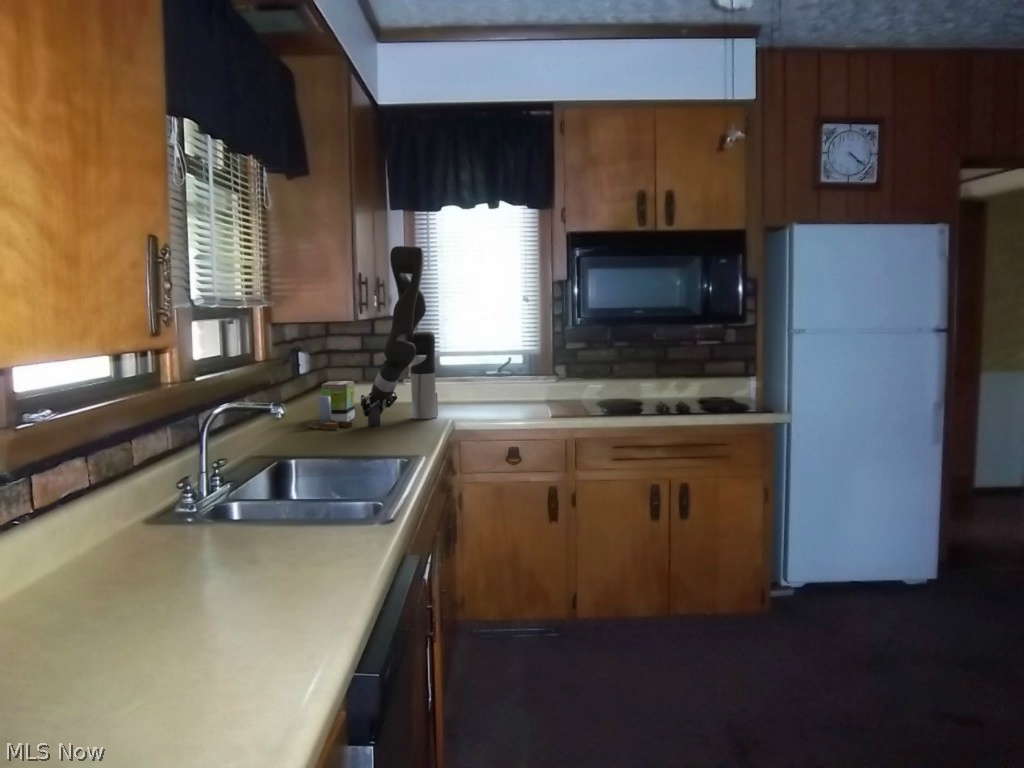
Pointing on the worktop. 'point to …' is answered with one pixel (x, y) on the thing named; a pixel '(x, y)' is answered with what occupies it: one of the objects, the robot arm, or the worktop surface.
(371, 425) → the dark grey cylinder
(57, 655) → the worktop surface
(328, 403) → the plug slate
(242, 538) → the worktop surface
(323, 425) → the rack
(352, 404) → the tea box
